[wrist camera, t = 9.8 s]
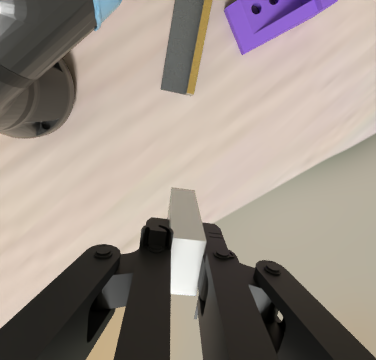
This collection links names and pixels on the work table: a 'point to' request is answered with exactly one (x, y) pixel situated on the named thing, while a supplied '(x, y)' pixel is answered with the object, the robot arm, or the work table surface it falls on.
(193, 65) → the wall
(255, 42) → the bracket
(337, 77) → the work table surface
